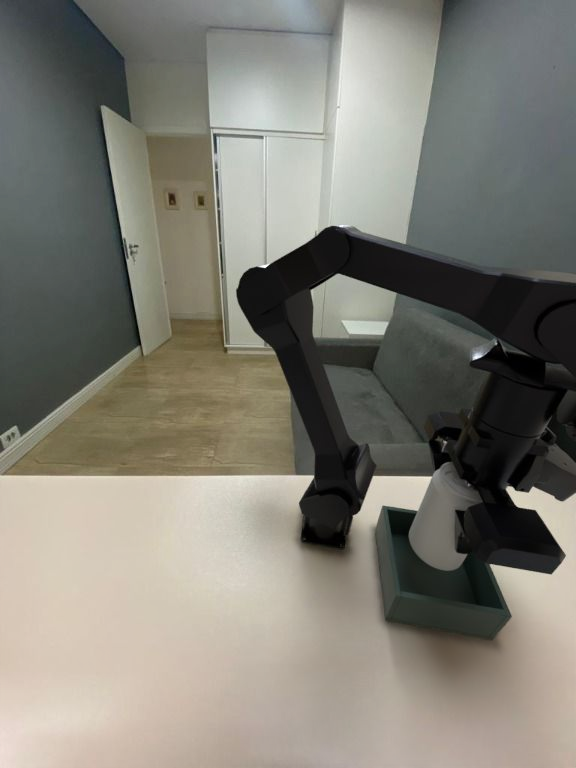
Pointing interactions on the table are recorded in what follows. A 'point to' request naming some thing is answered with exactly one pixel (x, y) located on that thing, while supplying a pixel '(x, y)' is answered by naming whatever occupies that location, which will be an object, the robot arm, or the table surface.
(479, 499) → the beverage can
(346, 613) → the table surface
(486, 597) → the shallow open box
